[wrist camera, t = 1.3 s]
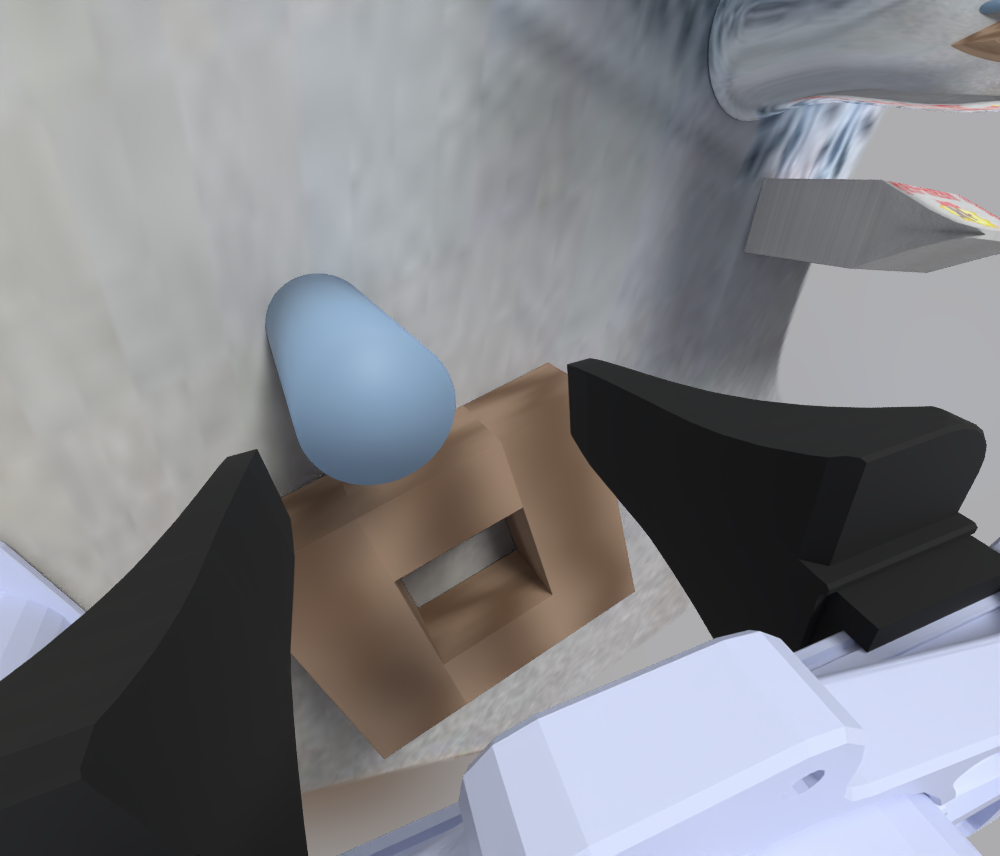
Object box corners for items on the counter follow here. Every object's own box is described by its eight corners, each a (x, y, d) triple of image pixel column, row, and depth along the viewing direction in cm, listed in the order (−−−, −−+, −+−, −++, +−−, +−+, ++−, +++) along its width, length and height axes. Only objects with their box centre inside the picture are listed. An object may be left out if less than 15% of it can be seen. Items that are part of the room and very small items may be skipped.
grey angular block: (819, 257, 31) (1026, 287, 23) (743, 252, 28) (951, 284, 20) (841, 191, 30) (1071, 198, 22) (763, 178, 27) (997, 181, 19)
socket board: (366, 694, 29) (383, 759, 26) (229, 523, 21) (231, 585, 18) (594, 550, 33) (634, 591, 30) (548, 362, 25) (595, 390, 22)
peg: (297, 391, 20) (340, 511, 13) (244, 298, 18) (259, 380, 11) (388, 350, 21) (474, 440, 14) (347, 257, 19) (424, 307, 12)
